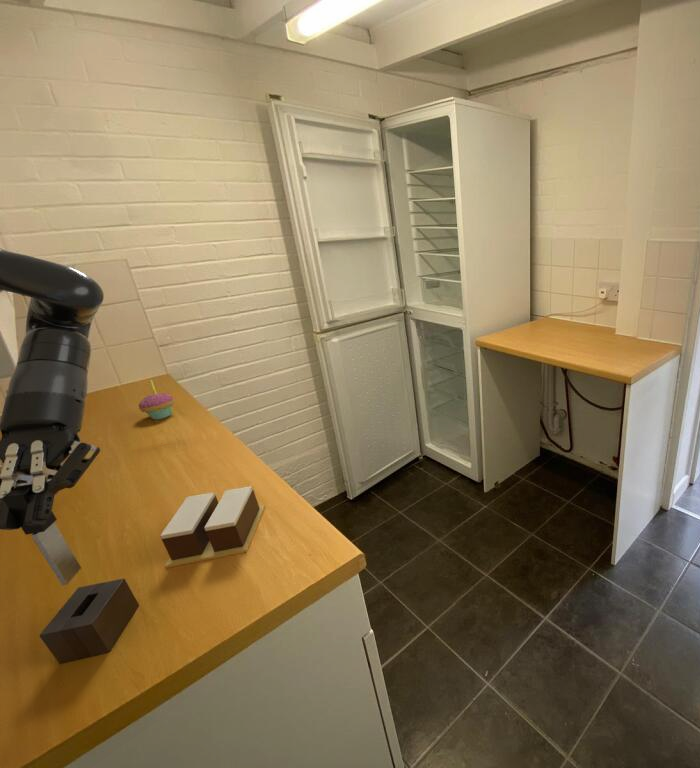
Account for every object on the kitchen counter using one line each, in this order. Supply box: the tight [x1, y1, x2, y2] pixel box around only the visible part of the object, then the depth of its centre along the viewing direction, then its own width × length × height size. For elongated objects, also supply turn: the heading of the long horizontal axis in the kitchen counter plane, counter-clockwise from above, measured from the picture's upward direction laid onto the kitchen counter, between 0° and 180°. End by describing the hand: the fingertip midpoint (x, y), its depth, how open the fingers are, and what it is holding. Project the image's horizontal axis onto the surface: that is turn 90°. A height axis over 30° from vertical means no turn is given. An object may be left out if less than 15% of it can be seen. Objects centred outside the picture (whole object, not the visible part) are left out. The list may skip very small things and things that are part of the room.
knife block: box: [38, 578, 140, 665], centre depth 62 cm, size 8×6×6 cm
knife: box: [2, 483, 82, 586], centre depth 56 cm, size 3×2×15 cm, turn 15°
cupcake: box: [138, 377, 175, 420], centre depth 127 cm, size 9×8×12 cm
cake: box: [160, 485, 266, 569], centre depth 80 cm, size 13×13×6 cm
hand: (22, 526), depth 53 cm, fingers closed on knife, 2 cm apart
